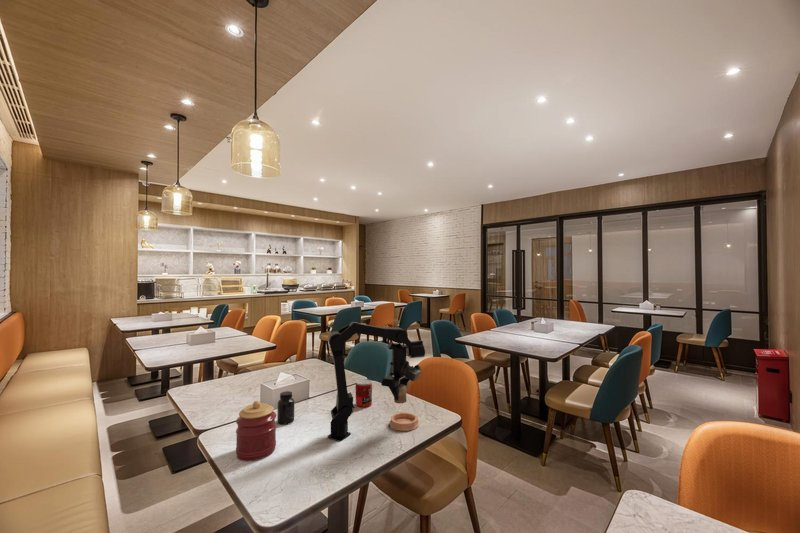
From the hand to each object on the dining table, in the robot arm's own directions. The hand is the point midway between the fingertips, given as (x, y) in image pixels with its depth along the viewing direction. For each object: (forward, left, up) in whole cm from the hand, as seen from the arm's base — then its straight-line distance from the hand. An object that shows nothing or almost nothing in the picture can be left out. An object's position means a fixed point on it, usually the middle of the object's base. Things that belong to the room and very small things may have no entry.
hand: (400, 397), depth 135 cm
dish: (+3, 0, -12) cm, 12 cm away
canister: (-41, +35, -12) cm, 55 cm away
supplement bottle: (-19, +45, -12) cm, 50 cm away
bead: (0, 0, -1) cm, 1 cm away
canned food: (+12, +27, -12) cm, 32 cm away
